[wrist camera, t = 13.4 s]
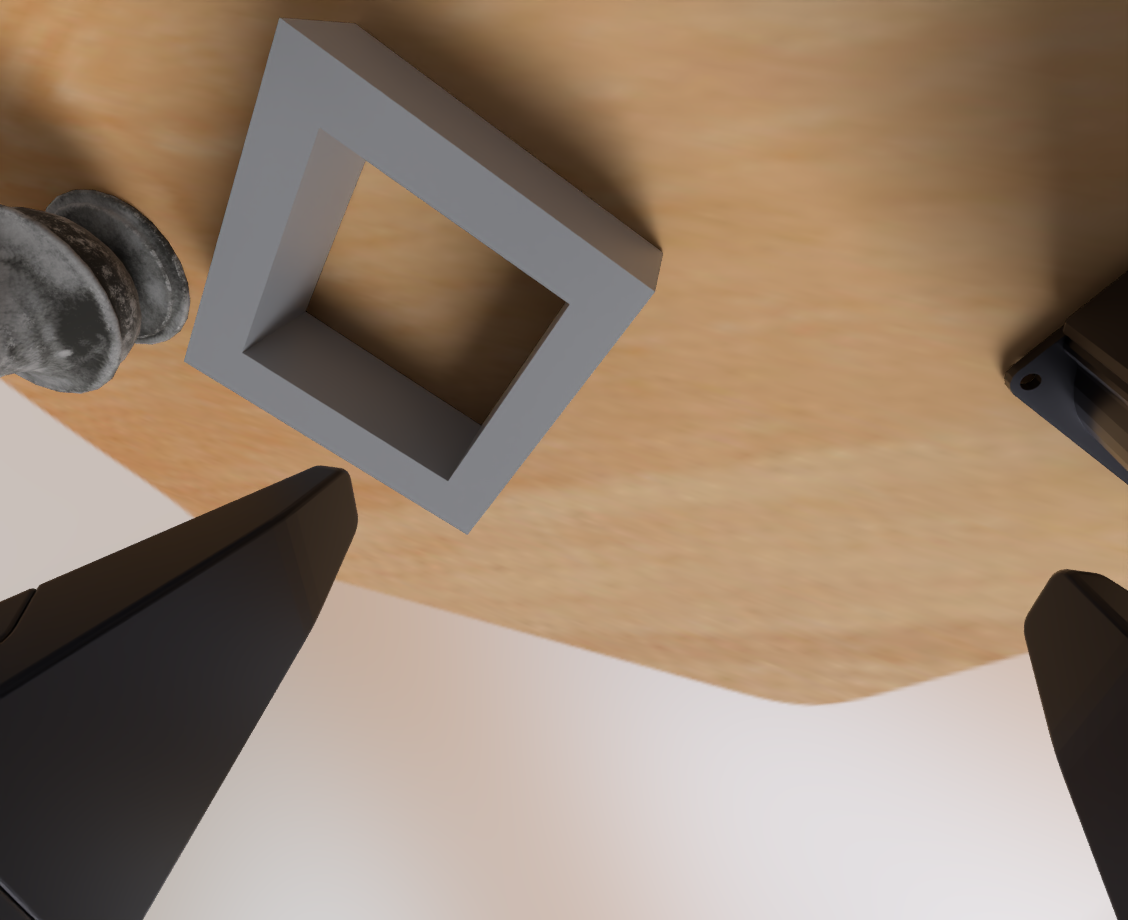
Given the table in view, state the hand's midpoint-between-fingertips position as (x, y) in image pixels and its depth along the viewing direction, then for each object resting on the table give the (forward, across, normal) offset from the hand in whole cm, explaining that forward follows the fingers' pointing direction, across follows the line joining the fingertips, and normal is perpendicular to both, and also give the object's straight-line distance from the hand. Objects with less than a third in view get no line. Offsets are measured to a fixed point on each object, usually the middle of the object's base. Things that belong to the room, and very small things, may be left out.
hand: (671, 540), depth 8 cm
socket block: (+12, +8, +1) cm, 14 cm away
